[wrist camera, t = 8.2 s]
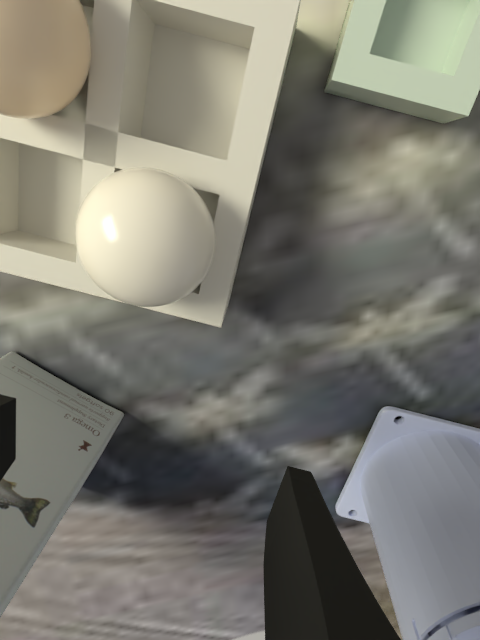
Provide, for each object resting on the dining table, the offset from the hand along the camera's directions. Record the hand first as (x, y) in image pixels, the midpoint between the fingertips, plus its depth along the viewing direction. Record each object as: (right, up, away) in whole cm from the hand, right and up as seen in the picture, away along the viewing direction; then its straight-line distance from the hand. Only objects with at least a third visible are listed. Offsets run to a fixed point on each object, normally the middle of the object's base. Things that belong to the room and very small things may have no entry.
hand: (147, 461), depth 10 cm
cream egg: (-1, +7, +4) cm, 8 cm away
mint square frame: (+9, +15, +4) cm, 17 cm away
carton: (-2, +11, +7) cm, 13 cm away
